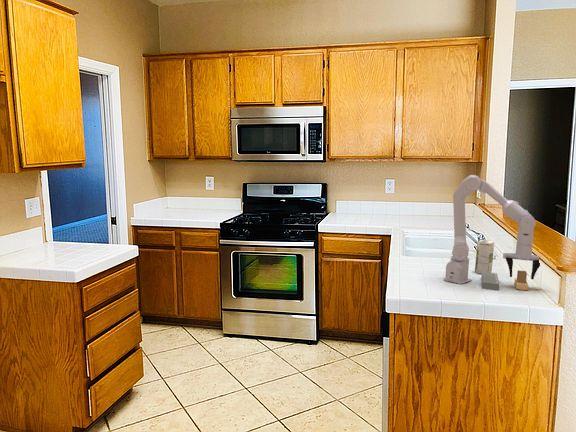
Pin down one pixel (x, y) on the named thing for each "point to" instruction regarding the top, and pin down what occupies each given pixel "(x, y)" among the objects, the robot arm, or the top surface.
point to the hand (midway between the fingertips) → (521, 277)
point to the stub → (521, 280)
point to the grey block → (490, 281)
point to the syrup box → (484, 256)
